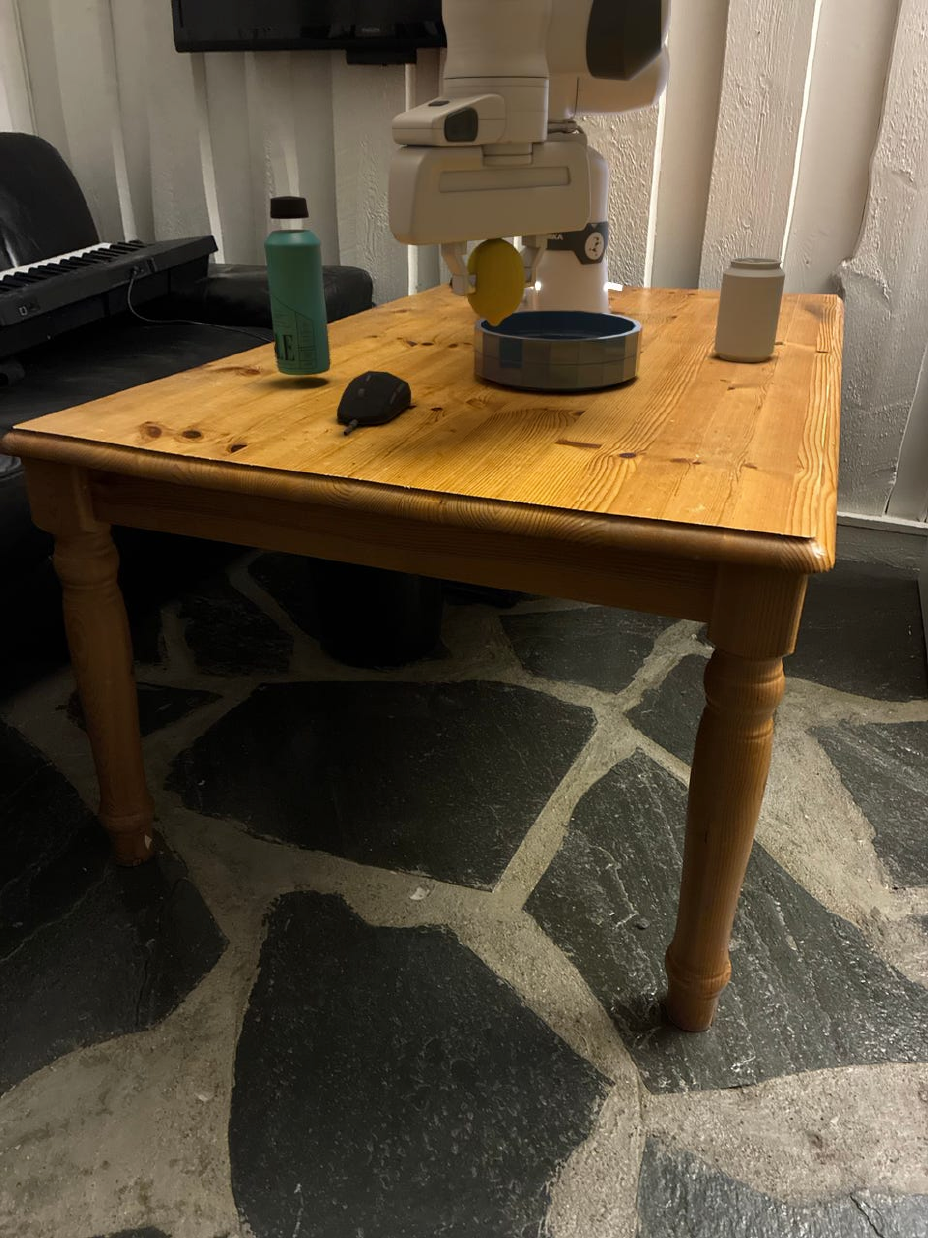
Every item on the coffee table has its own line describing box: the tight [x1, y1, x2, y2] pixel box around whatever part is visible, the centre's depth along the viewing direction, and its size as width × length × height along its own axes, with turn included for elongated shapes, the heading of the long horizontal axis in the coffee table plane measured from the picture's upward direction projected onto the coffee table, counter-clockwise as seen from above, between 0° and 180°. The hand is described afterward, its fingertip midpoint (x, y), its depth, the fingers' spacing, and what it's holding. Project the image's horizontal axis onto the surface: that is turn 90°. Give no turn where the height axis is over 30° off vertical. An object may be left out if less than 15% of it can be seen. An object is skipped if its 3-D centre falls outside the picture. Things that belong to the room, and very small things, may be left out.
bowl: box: [473, 310, 644, 393], centre depth 108 cm, size 20×20×6 cm
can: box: [713, 256, 786, 363], centre depth 115 cm, size 8×8×12 cm
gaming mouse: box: [336, 370, 412, 436], centre depth 93 cm, size 6×15×4 cm, turn 166°
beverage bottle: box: [263, 195, 333, 376], centre depth 102 cm, size 6×7×20 cm
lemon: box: [466, 238, 525, 326], centre depth 83 cm, size 6×6×8 cm
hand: (494, 290), depth 83 cm, fingers closed on lemon, 5 cm apart
